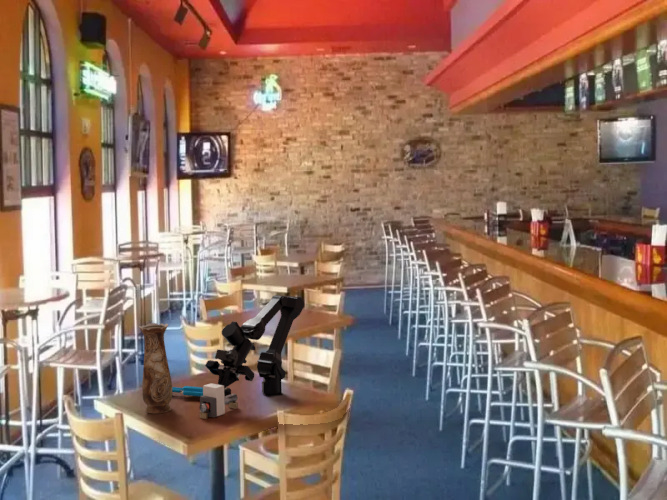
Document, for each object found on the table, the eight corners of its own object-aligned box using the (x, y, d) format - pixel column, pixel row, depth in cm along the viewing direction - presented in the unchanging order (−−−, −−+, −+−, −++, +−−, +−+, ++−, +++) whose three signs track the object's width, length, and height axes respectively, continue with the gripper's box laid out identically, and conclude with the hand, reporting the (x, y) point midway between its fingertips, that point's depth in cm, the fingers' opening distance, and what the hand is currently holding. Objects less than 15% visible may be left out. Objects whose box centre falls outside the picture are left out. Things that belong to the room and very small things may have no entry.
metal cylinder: (231, 406, 285) (231, 392, 285) (237, 407, 283) (237, 394, 283) (199, 417, 272) (199, 403, 272) (206, 419, 270) (205, 404, 270)
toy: (152, 397, 299) (225, 404, 289) (152, 383, 298) (225, 389, 289) (163, 392, 306) (235, 398, 297) (163, 378, 306) (235, 383, 296)
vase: (164, 415, 275) (161, 328, 273) (136, 413, 278) (133, 327, 276) (178, 407, 285) (175, 323, 283) (150, 405, 288) (148, 322, 286)
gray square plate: (203, 413, 276) (203, 395, 275) (216, 416, 272) (216, 398, 272) (200, 414, 275) (199, 396, 274) (213, 417, 271) (213, 399, 270)
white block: (211, 410, 279) (211, 383, 278) (224, 413, 276) (224, 385, 275) (203, 413, 276) (202, 385, 275) (216, 416, 272) (215, 388, 271)
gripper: (208, 337, 285) (186, 374, 277) (248, 343, 274) (227, 381, 266) (223, 355, 292) (203, 391, 284) (263, 361, 282) (243, 399, 274)
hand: (218, 390), depth 277 cm, fingers closed
